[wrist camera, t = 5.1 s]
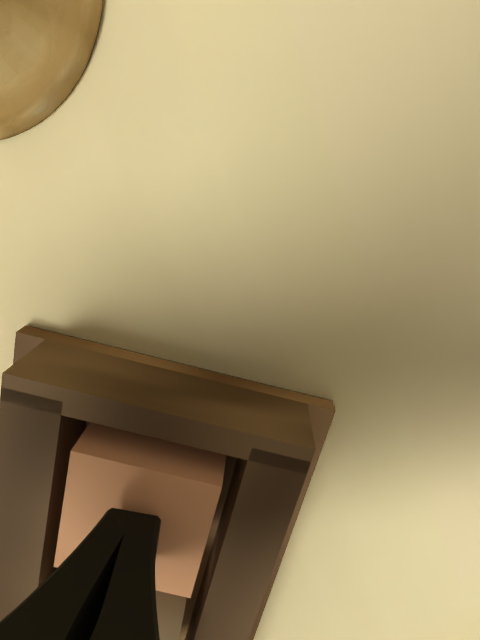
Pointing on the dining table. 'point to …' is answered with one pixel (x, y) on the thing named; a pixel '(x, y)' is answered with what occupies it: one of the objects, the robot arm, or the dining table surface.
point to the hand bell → (42, 56)
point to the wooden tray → (167, 424)
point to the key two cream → (169, 615)
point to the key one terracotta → (144, 496)
